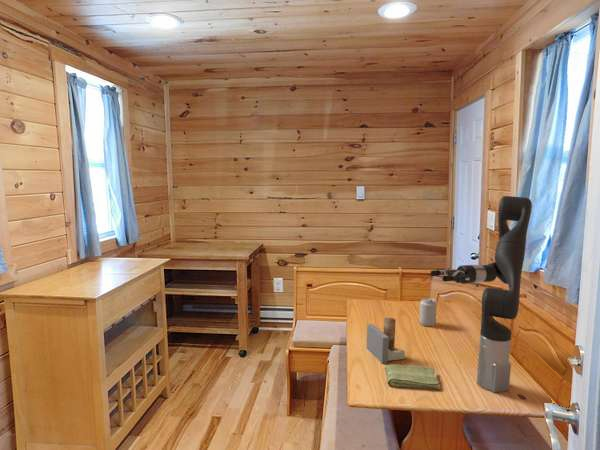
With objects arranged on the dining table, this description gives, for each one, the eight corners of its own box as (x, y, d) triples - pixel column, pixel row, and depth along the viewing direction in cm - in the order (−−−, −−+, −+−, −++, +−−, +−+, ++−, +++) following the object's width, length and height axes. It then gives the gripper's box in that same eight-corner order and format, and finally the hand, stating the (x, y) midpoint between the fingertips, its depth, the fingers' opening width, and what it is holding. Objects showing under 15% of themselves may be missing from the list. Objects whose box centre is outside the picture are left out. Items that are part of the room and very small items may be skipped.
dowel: (396, 355, 161) (397, 321, 159) (385, 356, 160) (387, 322, 158) (390, 350, 165) (392, 317, 163) (380, 352, 164) (382, 318, 162)
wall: (387, 362, 155) (388, 337, 153) (381, 363, 154) (383, 337, 153) (371, 347, 168) (372, 323, 167) (366, 348, 167) (367, 324, 166)
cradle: (404, 358, 157) (404, 348, 157) (387, 360, 156) (387, 350, 155) (389, 345, 169) (390, 336, 168) (373, 347, 167) (373, 338, 166)
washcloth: (442, 392, 135) (442, 383, 135) (387, 388, 137) (387, 379, 137) (433, 373, 148) (434, 364, 148) (383, 369, 150) (384, 361, 150)
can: (436, 327, 190) (438, 302, 189) (419, 326, 192) (421, 301, 190) (434, 322, 198) (436, 297, 196) (418, 320, 199) (419, 296, 198)
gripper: (460, 261, 176) (427, 263, 172) (483, 269, 163) (448, 270, 158) (459, 278, 177) (426, 280, 173) (482, 287, 164) (446, 289, 159)
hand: (436, 275), depth 166 cm, fingers open, 8 cm apart
